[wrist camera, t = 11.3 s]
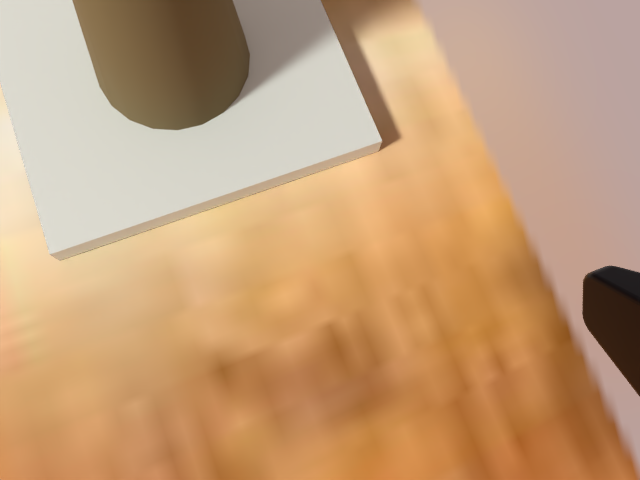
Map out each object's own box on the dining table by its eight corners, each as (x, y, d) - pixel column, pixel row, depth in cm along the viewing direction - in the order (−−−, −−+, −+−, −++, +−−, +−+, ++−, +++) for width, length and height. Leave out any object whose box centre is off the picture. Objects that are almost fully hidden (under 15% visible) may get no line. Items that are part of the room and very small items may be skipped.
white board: (378, 151, 25) (382, 140, 24) (60, 260, 23) (49, 254, 22) (232, -185, 28) (230, -206, 27) (-50, -115, 27) (-63, -135, 26)
